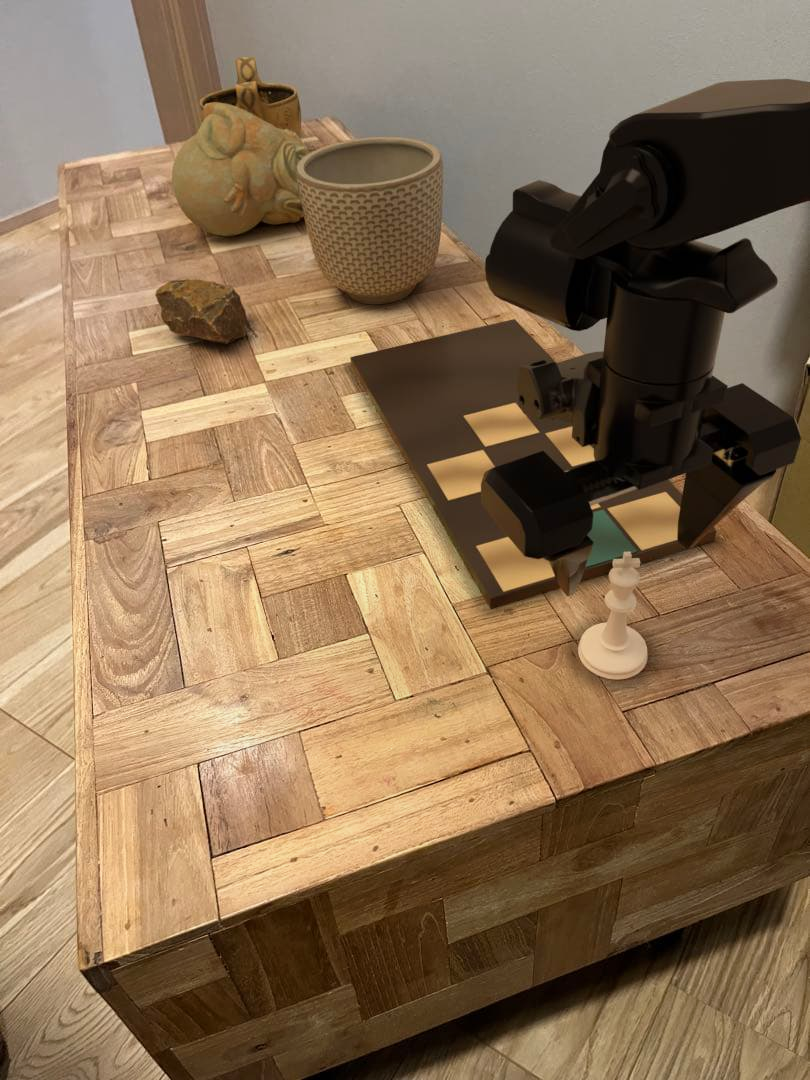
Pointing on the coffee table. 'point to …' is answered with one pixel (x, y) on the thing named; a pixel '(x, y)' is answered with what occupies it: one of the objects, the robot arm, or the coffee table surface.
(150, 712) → the coffee table surface
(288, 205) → the sculpture
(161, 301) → the rock
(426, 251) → the planter
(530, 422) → the game board
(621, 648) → the chess piece
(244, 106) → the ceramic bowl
